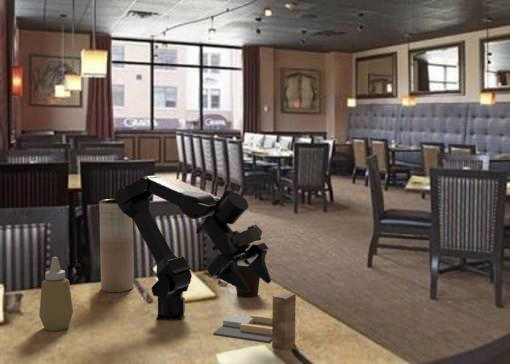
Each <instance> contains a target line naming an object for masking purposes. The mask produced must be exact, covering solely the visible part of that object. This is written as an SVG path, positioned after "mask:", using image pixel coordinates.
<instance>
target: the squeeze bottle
mask: <svg viewBox="0 0 510 364" xmlns="http://www.w3.org/2000/svg"><path fill="white" fill-rule="evenodd" d="M44 275H45V277H44V278H45V279H44V280H43V281H42V282H41V288H40V298H39V299H40V300H39V301H40V302H39V314H38V316H39V318H40V321H41V324H42V326H43V328H44V329H45V331H46V330H47V331H49V332H50V331H51V332H57V331H63V330H65V329H67V328H68V327H69V326H70V323H71V320H72V317H73V314H74V313H73V312H74V308H73V300H72V293H71V286H70V280H69V279H68V278H66V271H65V270H63V269H61V266H60V261H59V259H58V256H52V258H51V264H50V268H49V270H47V271H45V273H44Z"/></svg>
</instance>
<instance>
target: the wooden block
mask: <svg viewBox="0 0 510 364" xmlns="http://www.w3.org/2000/svg"><path fill="white" fill-rule="evenodd" d="M296 295H297V294H296V293H293V292H289V291H288V292H287V291H281V292H279V293H276V294H274V295H272V315H271V317H272V340H271V347H272V348H276V349H279V350H282V351H283V350H284V351H286V350H288V349H289V348H291V347H293V346H294V345H296V305H297V304H296V301H297V299H296Z"/></svg>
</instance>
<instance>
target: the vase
mask: <svg viewBox="0 0 510 364" xmlns="http://www.w3.org/2000/svg"><path fill="white" fill-rule="evenodd" d="M98 203H99V240H100V241H99V243H100V244H99V246H100V247H99V249H100V287H101V290H102V292H106V293H123V292H127V291H130V289H131V290H132V289H133V288H134V232H133V229H134V228H133V227H134V225H133V223H134V220H133V219H132V218H130V217H129V216H127V215H126V214H124V213H123V212H122V210H121V209H120V208H119V206H118V205H117V203H116V200H115V198H109V199H101V200H99V202H98Z"/></svg>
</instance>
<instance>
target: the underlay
mask: <svg viewBox="0 0 510 364" xmlns="http://www.w3.org/2000/svg"><path fill="white" fill-rule="evenodd" d="M212 335H217V336H223V337H229V338H237V339H241V340H250V341H257V342H262V343H263V342H264V343H271V342H272V316H268V315H260V314H255V313H252V314H251V315H250V317H247V316H241V315H240V316H239V315H232V314H230V315H228V316H227V317H226V318H225V319H223V320H222V325H221V326H220V327H218V328H217V329H216V330H215V331H214V332H213V334H212Z"/></svg>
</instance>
